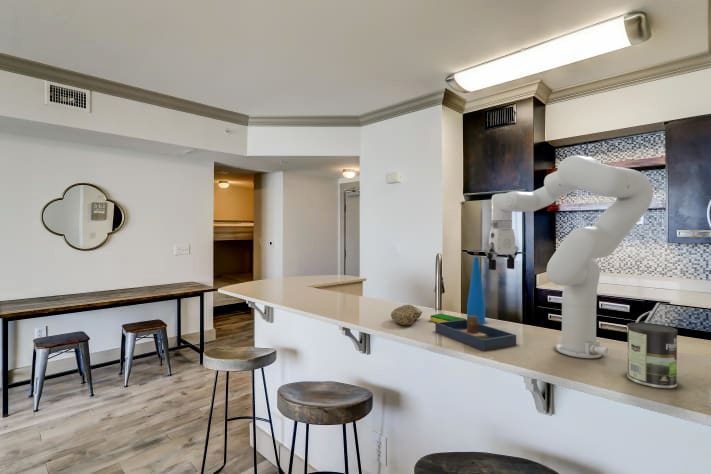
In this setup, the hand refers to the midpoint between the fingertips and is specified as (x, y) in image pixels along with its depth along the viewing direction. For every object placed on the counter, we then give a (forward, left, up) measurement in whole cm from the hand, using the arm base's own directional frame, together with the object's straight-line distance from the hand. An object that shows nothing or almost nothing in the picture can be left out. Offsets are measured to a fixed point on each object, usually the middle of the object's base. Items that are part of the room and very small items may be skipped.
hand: (501, 269), depth 147 cm
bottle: (+16, -2, -24) cm, 29 cm away
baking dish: (-3, +17, -24) cm, 30 cm away
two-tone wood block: (-3, +17, -24) cm, 29 cm away
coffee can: (-53, +3, -24) cm, 58 cm away
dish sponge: (+20, +10, -24) cm, 33 cm away
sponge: (+28, +26, -24) cm, 45 cm away
